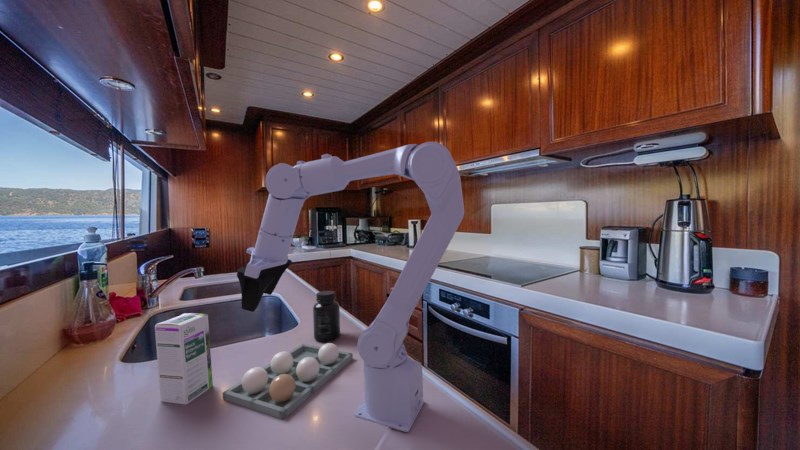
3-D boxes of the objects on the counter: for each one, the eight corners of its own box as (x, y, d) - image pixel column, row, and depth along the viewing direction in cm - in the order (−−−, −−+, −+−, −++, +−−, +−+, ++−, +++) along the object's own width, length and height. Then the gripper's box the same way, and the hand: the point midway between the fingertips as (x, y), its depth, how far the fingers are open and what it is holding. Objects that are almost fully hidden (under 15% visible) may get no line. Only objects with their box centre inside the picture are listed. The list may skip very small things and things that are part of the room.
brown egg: (301, 395, 53) (300, 371, 53) (283, 411, 49) (282, 385, 49) (282, 390, 55) (281, 367, 55) (263, 404, 51) (262, 379, 51)
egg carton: (352, 360, 66) (352, 339, 66) (283, 421, 47) (282, 392, 47) (303, 350, 72) (302, 330, 71) (223, 401, 53) (221, 375, 52)
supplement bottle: (345, 335, 80) (344, 291, 79) (327, 345, 74) (325, 298, 74) (327, 330, 84) (326, 288, 83) (308, 339, 78) (306, 294, 77)
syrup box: (186, 407, 51) (181, 324, 51) (158, 403, 53) (153, 322, 52) (213, 387, 57) (209, 313, 56) (187, 384, 58) (183, 311, 57)
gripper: (270, 219, 60) (253, 281, 62) (234, 231, 46) (213, 311, 47) (304, 230, 61) (286, 290, 62) (279, 245, 46) (257, 323, 48)
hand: (257, 300), depth 55 cm, fingers open, 7 cm apart
